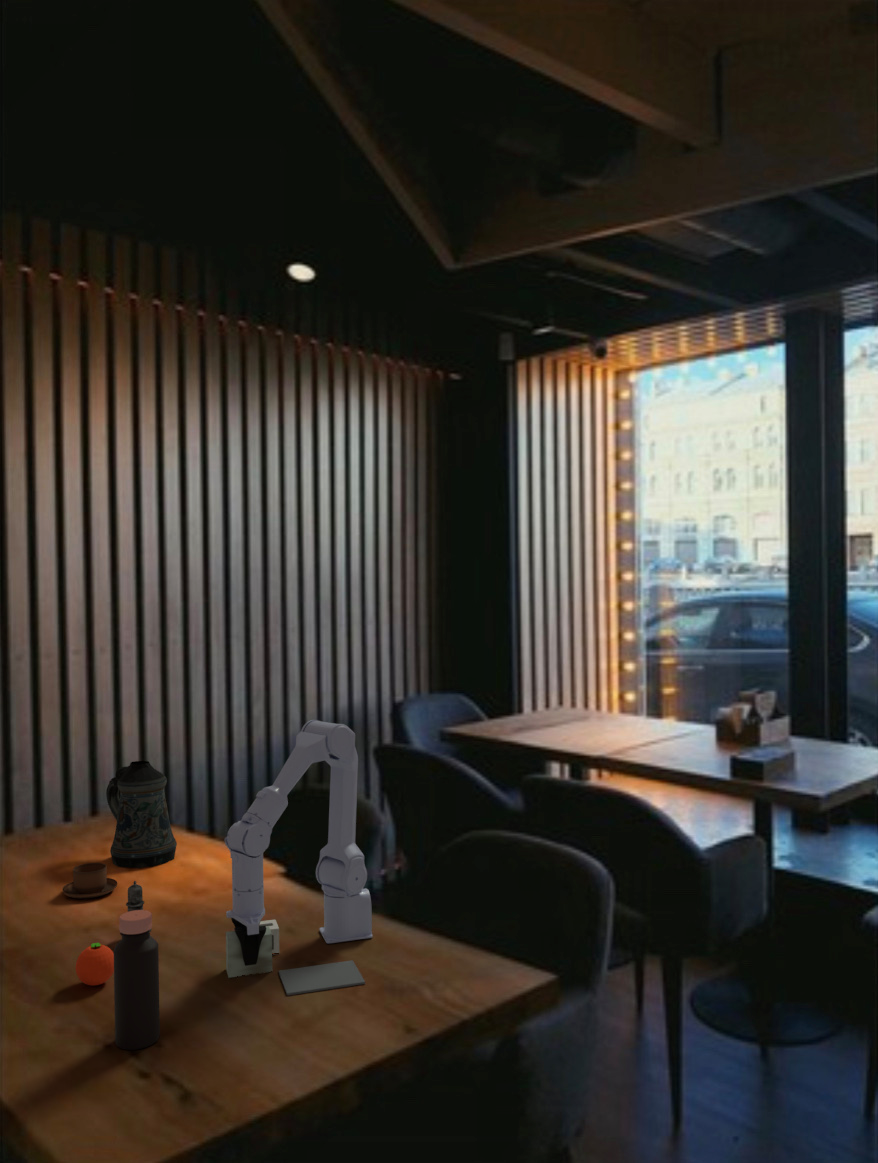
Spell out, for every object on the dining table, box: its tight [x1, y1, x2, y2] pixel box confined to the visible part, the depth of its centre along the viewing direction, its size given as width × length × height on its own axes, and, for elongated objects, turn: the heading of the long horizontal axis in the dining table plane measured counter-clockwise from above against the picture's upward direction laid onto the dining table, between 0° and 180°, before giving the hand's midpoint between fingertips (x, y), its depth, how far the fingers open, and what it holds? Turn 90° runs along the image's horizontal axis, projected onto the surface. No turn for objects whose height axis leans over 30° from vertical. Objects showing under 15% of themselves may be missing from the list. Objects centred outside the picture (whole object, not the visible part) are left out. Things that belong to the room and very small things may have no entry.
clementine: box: [75, 942, 114, 987], centre depth 173 cm, size 8×7×7 cm
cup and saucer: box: [61, 862, 118, 899], centre depth 222 cm, size 12×12×6 cm
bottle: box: [113, 909, 161, 1051], centre depth 152 cm, size 7×7×20 cm
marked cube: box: [259, 919, 280, 954], centre depth 187 cm, size 5×5×5 cm
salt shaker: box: [125, 880, 145, 912], centre depth 193 cm, size 6×6×12 cm
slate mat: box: [278, 960, 366, 996], centre depth 174 cm, size 14×10×1 cm
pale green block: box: [225, 927, 273, 979], centre depth 178 cm, size 8×4×7 cm, turn 108°
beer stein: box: [105, 760, 178, 869], centre depth 248 cm, size 16×19×25 cm
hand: (249, 959), depth 178 cm, fingers closed on pale green block, 4 cm apart
